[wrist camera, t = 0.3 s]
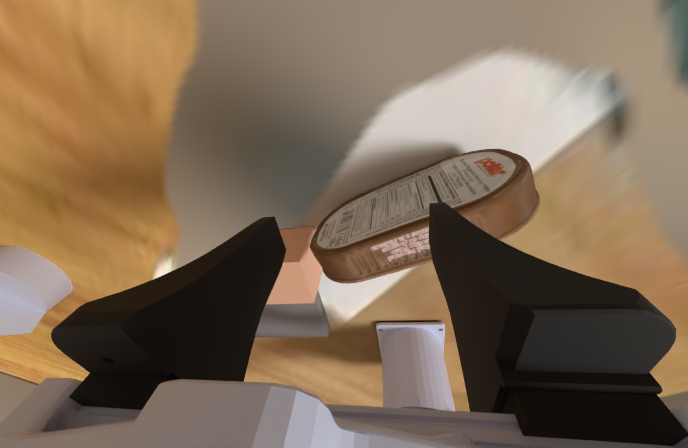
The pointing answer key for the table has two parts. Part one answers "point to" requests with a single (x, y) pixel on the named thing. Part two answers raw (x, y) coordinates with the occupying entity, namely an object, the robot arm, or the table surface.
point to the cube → (297, 269)
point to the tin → (424, 213)
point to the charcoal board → (294, 320)
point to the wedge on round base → (28, 289)
